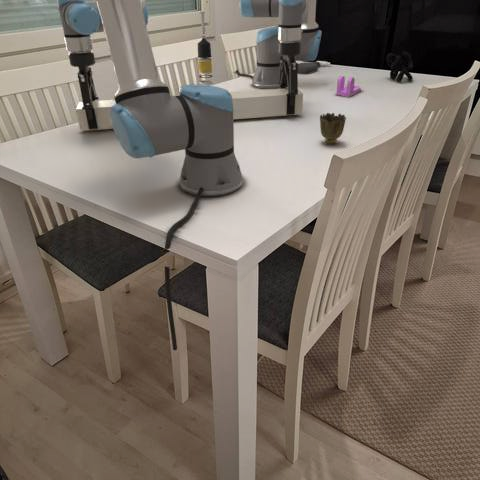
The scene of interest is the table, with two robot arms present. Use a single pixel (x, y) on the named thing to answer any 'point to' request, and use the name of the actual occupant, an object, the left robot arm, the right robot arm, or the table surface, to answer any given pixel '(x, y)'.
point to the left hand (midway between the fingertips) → (94, 124)
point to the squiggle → (399, 66)
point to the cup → (332, 127)
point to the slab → (243, 105)
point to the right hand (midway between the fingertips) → (286, 110)
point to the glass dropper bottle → (204, 56)
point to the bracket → (349, 89)
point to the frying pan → (310, 66)
